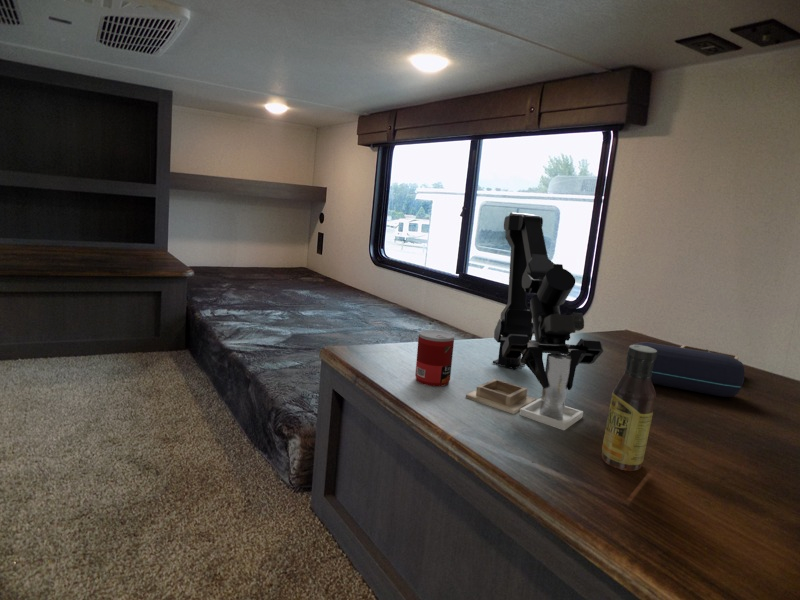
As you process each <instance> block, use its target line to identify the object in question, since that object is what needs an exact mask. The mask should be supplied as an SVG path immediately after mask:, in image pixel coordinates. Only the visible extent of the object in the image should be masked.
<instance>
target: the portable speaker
mask: <svg viewBox="0 0 800 600" xmlns="http://www.w3.org/2000/svg"><path fill="white" fill-rule="evenodd" d="M632 345H643V346H648V347H651V348H653V349H655V350H657V357H656V360H655V361H654V364H653V369H652V376H651V382H652V384H653V385H659V386H663V387H668V388H674V389H679V390H685V391H690V392H696V393H701V394H705V395H710V396H711V395H712V396H715V397H723V398H725V397H727V398H728V397H729V398H730V397H735V396H736V395H737V394H739V392H740V390H741V389H742V386H743V384H744V382H745V373H746V372H745V366H744V363H743V362H742V361H740V360H739V359H738V360H737V359H735V358H733V357H730V356H728V355H724V354H718V353H712V352H705V351H699V350H693V349H687V348H681V346H674V345H668V344H663V343H662V344H660V343H654V342H647V341H644V342H643V341H641V342H637V343H632ZM627 360H628V354H627V355H626V365H627ZM626 365H625V366H626Z"/></svg>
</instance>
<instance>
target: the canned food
mask: <svg viewBox="0 0 800 600" xmlns="http://www.w3.org/2000/svg"><path fill="white" fill-rule="evenodd" d="M454 342H455V336H454V334H452V333H450V332H447V331H443V330H438V329H426V330H421V331H419V333H418V339H417V350H416V351H417V352H416V361H415V362H416V364H415V379H416V381H417V382H418V383H419V384H421V385H425V386H429V387H444V386H448V384H449V383H450V380H451V375H452V374H451V373H452V363H453V354H454V344H455V343H454Z"/></svg>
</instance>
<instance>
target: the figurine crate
mask: <svg viewBox="0 0 800 600" xmlns="http://www.w3.org/2000/svg"><path fill="white" fill-rule="evenodd" d="M680 347H681V348H687V349H693V350H699V351H706V349H707V348H701V347H700V348H699V347H695V346H690V345H686V344H682V345H681V346H680ZM707 350H708V351H709V352H712V353H718V354H724V355H728V356H730V357H733V358H735V359H737V360H739V357H740V356H738V355H734V354H730V353H724V352H721V351H720V352H719V351H716V350H710V349H707Z"/></svg>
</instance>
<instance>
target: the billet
mask: <svg viewBox="0 0 800 600" xmlns="http://www.w3.org/2000/svg"><path fill="white" fill-rule="evenodd" d="M570 365H571V357H569V356H566V355H564V354H556V353H547V355H546V362H545V368H544V369H545V374H546V379H547V387H546V388H543V387H542V390H541V391H542V393H541V398H542V399H541V406H540V413H539V414H540V415H543V416H546V417H549V418H552V419H555V420H558V421H559V420H562V419H563V414H564V407H565V406H566V400H567V399H566V398H567V391H568V388H567V386H568V379H569V372H570Z"/></svg>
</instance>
